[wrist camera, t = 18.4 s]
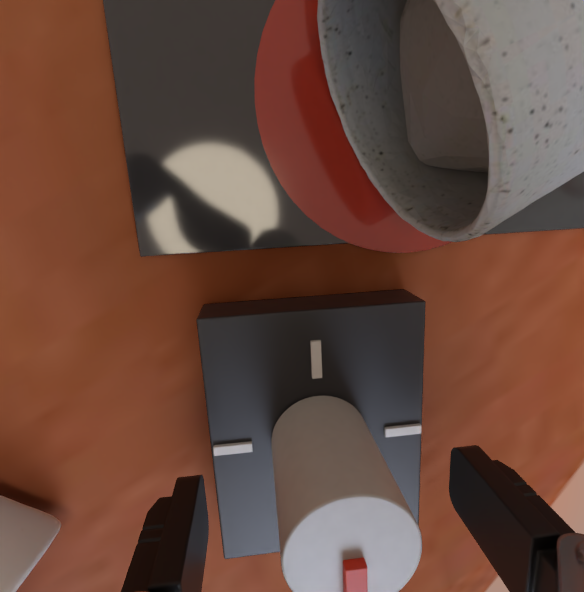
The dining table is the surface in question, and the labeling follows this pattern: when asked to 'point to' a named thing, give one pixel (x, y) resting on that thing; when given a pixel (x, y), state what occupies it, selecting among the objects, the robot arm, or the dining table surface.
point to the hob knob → (339, 503)
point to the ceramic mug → (458, 103)
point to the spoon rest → (22, 541)
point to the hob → (254, 136)
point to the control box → (306, 391)
